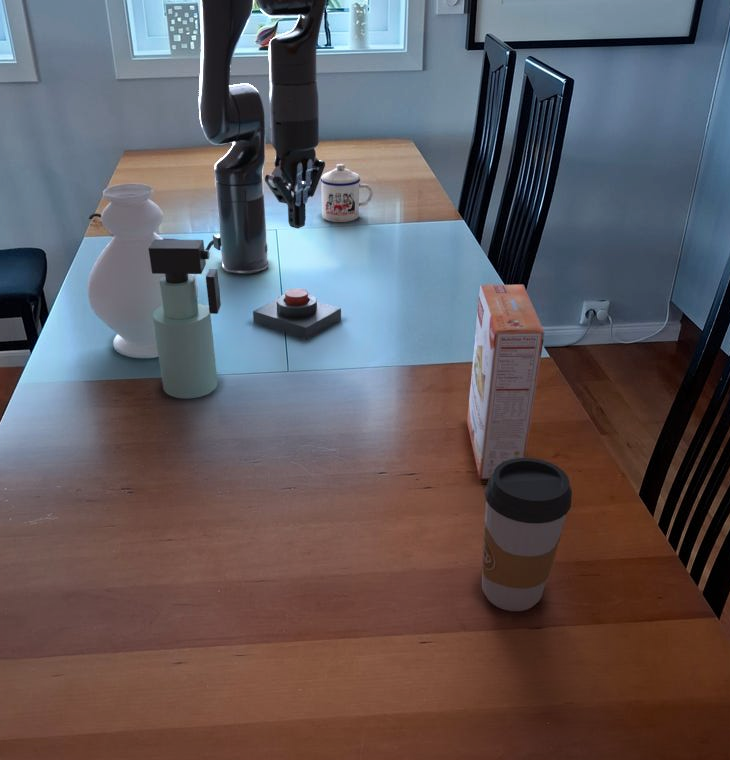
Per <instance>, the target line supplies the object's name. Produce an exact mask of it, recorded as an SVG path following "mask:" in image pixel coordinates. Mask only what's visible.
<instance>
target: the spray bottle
mask: <svg viewBox="0 0 730 760" xmlns="http://www.w3.org/2000/svg"><path fill="white" fill-rule="evenodd" d="M148 249H149V256H150V262H151V269H152V274H165V276H164V277H162V278H161V279H160V288H161V296H162V303H163V306H161V307H159V308H157V309H156V310H155V311H154V312H153V315H152V316H153V323H154V330H155V336H156V343H157V349H158V356H159V357H158V362H159V368H160V376H161V381H162V389H163V392H165V393H166V394H167V395H169V396H170V397H172V398H177V399H189V400H190V399H197V398H201V397H203V396H204V397H205V396H207V395H209V394H211V393H212V392H214V391H215V390H216V389H217V387H218V385H219V384H218V383H219V382H218V381H219V380H218V373H217V364H216V353H215V344H214V333H213V325H212V316H211V315H212V314H210V313H209V306H208V305H206V304H205V303H201V302H199V301H198V297H197V294H196V285H195V278H194V276H192V275H190V274H195V275H202V273H203V271H204V270H205V267H206V266H207V262H206V260H209V259H210V250H209V251H208V250H205V243H204V239H179V240H154V241H153V242H152V244H151V245H150V247H149V248H148Z"/></svg>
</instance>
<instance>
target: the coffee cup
mask: <svg viewBox="0 0 730 760" xmlns="http://www.w3.org/2000/svg"><path fill="white" fill-rule="evenodd" d="M570 481H571V480H570V479H569V476H568V475H567V473H566V472H565V471H564V470H563V469H562V468H560V467H559V466H558V465H556V464H554V463H551V462H549V461H546V460H543V459H540V458H533V457H525V458H516V459H510V460H507V461H504V462H502V463H501V464H499V465H498V466H497V467H496V468H495V470H494V472H493V474H492V475H491V476H490V477H489V479H487V484H486V487H485V489H484V490H485V491H484V497H485V501H486V502H485V517H484V522H483V536H482V537H483V539H482V559H481V571H482V575H481V587H482V592H483V593H484V596H485V598H486V599H487V601H489V602H490V604H492V605H493V606H495V607H496V608H499V609H501V610H503V611H509V612H522V611H527V610H529V609H532V608H533V607H534V606H535V605H536V604H537V603H539V602H540V600H541V599H542V596H543V593H544V590H545V586H546V584H547V581H548V579H549V577H550V573H551V571H552V570H551V569H552V567H553V563H554V560H555V556H556V555H557V554H556V553H557V550H558V547H559V543H560V540H561V536H562V530H563V528H564V524H565V521H566V517H567V514H568V513H569V511H570V509H571V508H572V497H573V496H572V495H573V490H572V487H571V483H570Z"/></svg>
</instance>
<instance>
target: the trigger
mask: <svg viewBox="0 0 730 760" xmlns="http://www.w3.org/2000/svg"><path fill="white" fill-rule="evenodd" d="M205 284H206V293H207V302H208V307H209V313H210V314H211V315H217V314H218V313H219V311H220V309H221V306H222V303H221V302H222V301H221V291H220V281H219V271H218V268H210V269H208V272H207V274H206V276H205Z"/></svg>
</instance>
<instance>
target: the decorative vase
mask: <svg viewBox="0 0 730 760" xmlns="http://www.w3.org/2000/svg"><path fill="white" fill-rule="evenodd" d="M102 196H103V199H104V200H106V201H108V202H109V203H108V204H107V205H106V206H105V207H104V209H103V210H102V212H101V213H100V214H101V218H100V221H101V224H102V226H103V228H104V229H105V230H106V231H108V232H109V233H110V234H112V236H113V237H112V239H111V240H110V241H109V242H108V244H106V246H105V247H104V248H103V250H102V251H101V252H100V254H99V256H97V259H96V260H95V262H94V264H93V266H92V269H91V271H90V273H89V276H88V278H87V279H88V280H87V285H86V286H87V287H86V290H87V291H86V292H87V293H86V294H87V300H88V302H89V306H90V308H91V311H93V313H94V314H95V315H96V316H97V317H98V318H99V320H101V321H102V322H103V323H104V324H105V325H106V326H107V327H108V328H109V329H111V330H112V331H113V332H114V333H116V335H115V336H114V338H113V341H112V343H113V348H114V350H115V351H116V352H117V353H118V354H120V355H123V356H125V357H129V358H135V359H151V358H152V359H153V358H159V356H158V349H157V343H156V336H155V330H154V323H153V316H152V315H153V312H154V311H155V310H156V309H157V308H159V307H161V306H163V303H162V296H161V288H160V279H161V278H162V277H164V276H165V274H152V269H151V262H150V256H149V249H148V248H149V247H150V245H151V244H152V242H153V241H154V240H164V239H163V238H162V236H160V235H159V234H157V233H156V231H157V230H158V229H159V227H160V226H161V225H162V222H163V220H164V214H163V211H162V209H161V208H160V206H159V205H158V204H156V203H155V202H154V201H152V200H151V199H150V198H151V197H153V196H154V188H153V186H151V185H149V184H145V183H137V182H135V183H132V182H131V183H122V184H120V183H119V184H115V185H112V186H109V187H106V188H104V190H103V191H102ZM190 275H192V276H194V278H195V285H196V294H197V298H198V297H199V285H198V281H197V277H196V274H190Z"/></svg>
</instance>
